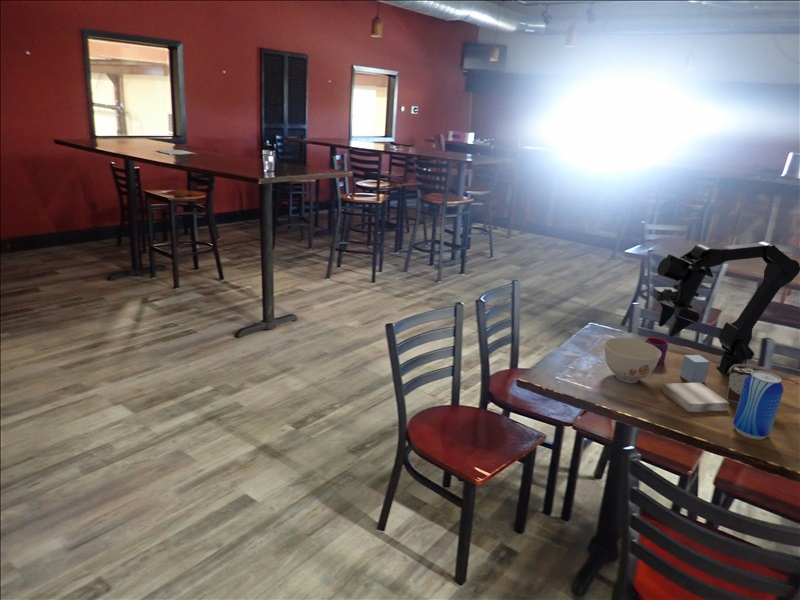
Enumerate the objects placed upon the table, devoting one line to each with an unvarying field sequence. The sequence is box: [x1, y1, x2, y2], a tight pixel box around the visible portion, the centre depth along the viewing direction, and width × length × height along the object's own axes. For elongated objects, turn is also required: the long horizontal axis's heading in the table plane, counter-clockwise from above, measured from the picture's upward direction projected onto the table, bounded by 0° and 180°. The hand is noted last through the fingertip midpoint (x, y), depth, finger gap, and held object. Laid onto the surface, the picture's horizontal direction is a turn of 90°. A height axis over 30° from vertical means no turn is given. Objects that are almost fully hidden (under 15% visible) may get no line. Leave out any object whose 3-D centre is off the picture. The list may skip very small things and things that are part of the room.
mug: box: [645, 336, 669, 366], centre depth 191 cm, size 7×10×7 cm
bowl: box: [603, 337, 661, 384], centre depth 175 cm, size 16×16×10 cm
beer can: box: [732, 371, 784, 441], centre depth 147 cm, size 8×8×16 cm
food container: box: [726, 363, 775, 404], centre depth 165 cm, size 12×6×10 cm, turn 59°
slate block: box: [679, 354, 711, 384], centre depth 177 cm, size 5×5×7 cm
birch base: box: [661, 382, 730, 413], centre depth 164 cm, size 12×12×2 cm
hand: (665, 331), depth 180 cm, fingers open, 9 cm apart
